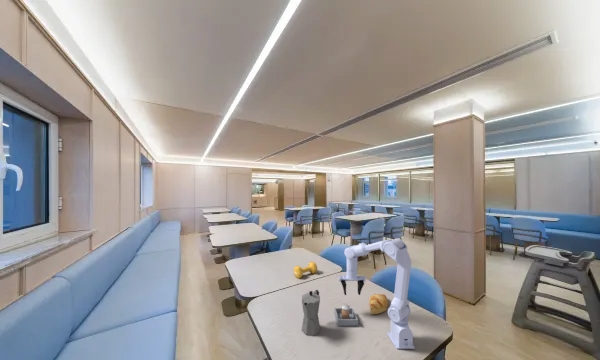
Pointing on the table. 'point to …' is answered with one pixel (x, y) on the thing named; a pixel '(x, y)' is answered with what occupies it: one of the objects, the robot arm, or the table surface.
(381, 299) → the croissant
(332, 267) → the table surface
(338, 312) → the bin
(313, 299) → the coffeepot
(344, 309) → the shaker
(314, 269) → the dumbbell
